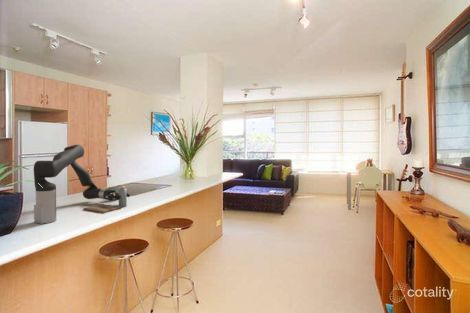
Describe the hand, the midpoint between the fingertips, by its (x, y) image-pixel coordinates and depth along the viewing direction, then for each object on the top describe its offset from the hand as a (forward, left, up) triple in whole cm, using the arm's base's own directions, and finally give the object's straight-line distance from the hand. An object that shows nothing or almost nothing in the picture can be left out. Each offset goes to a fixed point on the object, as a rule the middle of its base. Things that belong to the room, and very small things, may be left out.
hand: (124, 196), depth 188 cm
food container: (+15, +23, -7) cm, 28 cm away
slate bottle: (0, +2, -7) cm, 7 cm away
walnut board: (-12, +7, -7) cm, 16 cm away
